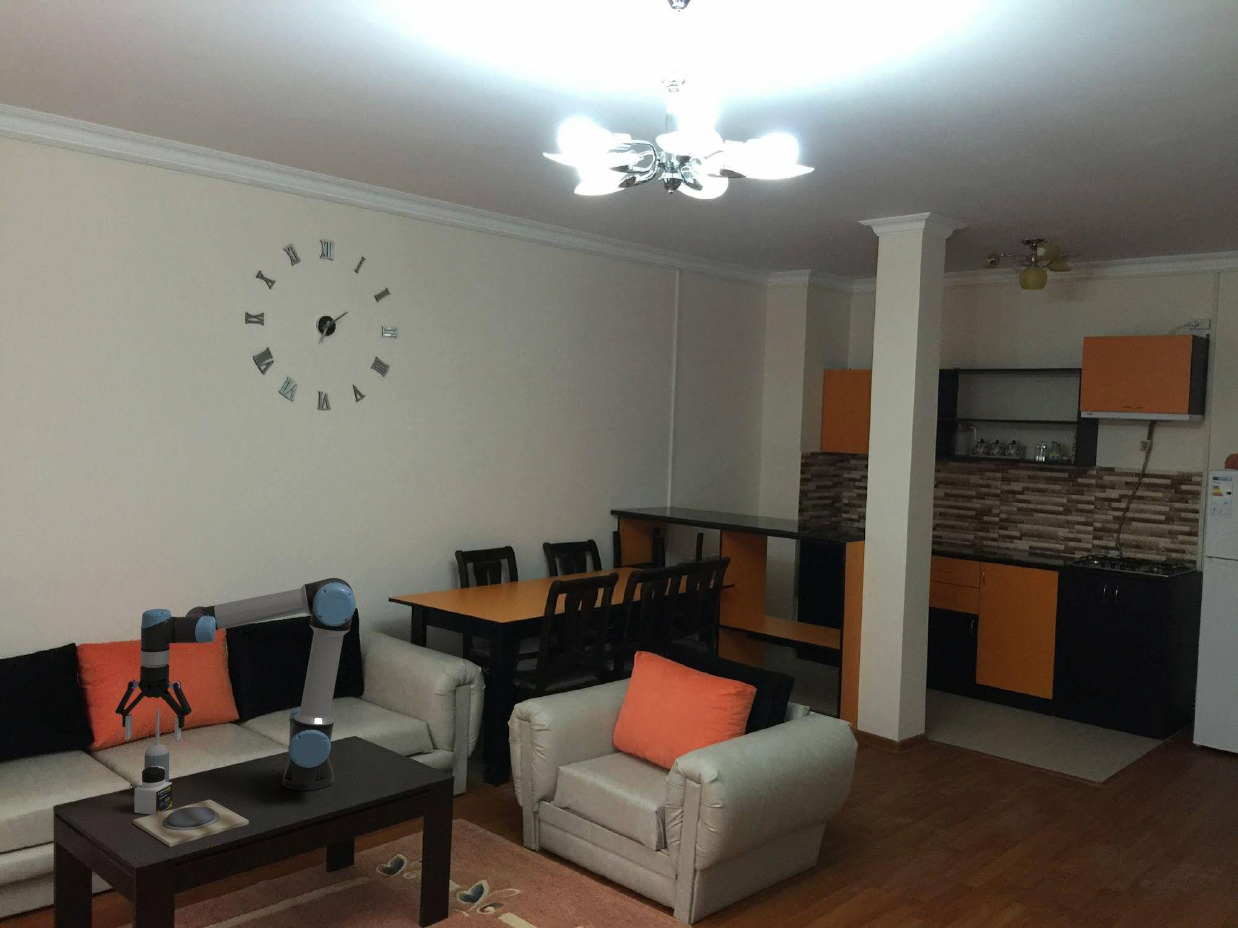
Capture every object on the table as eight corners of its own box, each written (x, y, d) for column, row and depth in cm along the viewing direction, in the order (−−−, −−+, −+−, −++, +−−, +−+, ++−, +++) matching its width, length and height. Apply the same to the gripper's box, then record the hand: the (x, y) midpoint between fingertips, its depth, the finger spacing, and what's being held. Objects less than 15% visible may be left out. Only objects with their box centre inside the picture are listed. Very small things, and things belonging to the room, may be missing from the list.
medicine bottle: (156, 815, 288) (156, 773, 288) (133, 812, 290) (134, 770, 289) (172, 806, 295) (172, 765, 295) (150, 803, 297) (150, 762, 296)
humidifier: (174, 787, 310) (175, 705, 309) (168, 797, 302) (169, 713, 301) (145, 788, 308) (146, 706, 307) (138, 798, 300) (139, 714, 299)
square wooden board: (210, 802, 299) (210, 794, 299) (248, 823, 284) (248, 814, 284) (133, 823, 282) (133, 814, 282) (169, 846, 268) (170, 837, 268)
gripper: (204, 662, 295) (202, 735, 296) (115, 660, 294) (113, 733, 295) (195, 668, 288) (193, 743, 289) (103, 666, 286) (102, 741, 287)
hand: (153, 738), depth 292 cm, fingers open, 13 cm apart
